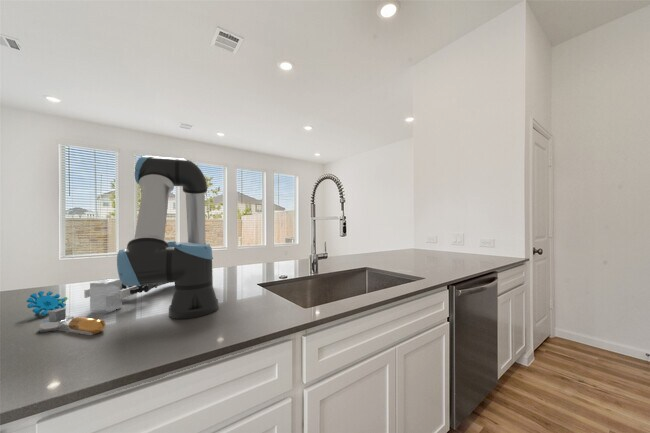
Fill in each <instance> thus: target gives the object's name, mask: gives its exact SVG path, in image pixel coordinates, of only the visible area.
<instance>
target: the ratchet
mask: <svg viewBox="0 0 650 433" xmlns="http://www.w3.org/2000/svg"><path fill="white" fill-rule="evenodd" d="M106 325H107V323H106V321H105V320H103V319H99V318H92V317H91V318H90V317H83V316H77V317H75V316H74V315H66V308H63V309H55V310H52V311H51V310H48V319H45V320H43V321H41V322H39V332H40V333H50V332H57V331H61V332H68V333H74V334H79V333H80V334H81V335H86V336H87V335H88V336H93V335H95V334H100V333H101V332H103V331H104V330H105V329H106ZM80 334H79V335H80Z"/></svg>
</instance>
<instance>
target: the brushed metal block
mask: <svg viewBox="0 0 650 433" xmlns="http://www.w3.org/2000/svg"><path fill="white" fill-rule="evenodd" d="M89 289H90V297H89V310H90V311H89V312H90V314H109V313H111V312H113V311H116V309H117V310H120V309H122V308H123V298H122V299H120V290H123V289H122V282H121V281H120V278H112V279H111V278H105V279H102V280H101V279H100V280H98V281H94V282H90V283H89Z"/></svg>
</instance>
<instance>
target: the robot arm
mask: <svg viewBox="0 0 650 433" xmlns="http://www.w3.org/2000/svg"><path fill="white" fill-rule="evenodd" d="M134 169H135V171H134V179H135V182H136V184H137V185H138V186H139V187H140V188H141V189H142V190H141V197H140V202H139V209H138V214H137V221H136V226H135V231H134V232H135V233H134V238H132V239H130V240H129V241H128V243H127V245H126V248H123V249H120V250H118V252H117V254H116V255H117V256H116V268H117V274H118V279H120V281H121V282H122V290H120V299H122V300H123V299H125V298H128V297H130V296H133V295H136V294H138V293H149V291H151V290H152V289H157V288H158V287H160V286H162V285H166V284H169V283H171V284H172V283H174V292H173V296H172V298H171V301H170V302H171V303H170V305H169V307H168V317H170V318H172V319H178V320H179V319H183V320H184V319H194V318H199V317H203V316H207V315H209V314H212V313H213V312H215V311H217V310H218V309H219V299H218V298H217V295H216V292H215V288H214V285H213V282H214V281H213V276H214V275H213V260H214V257H213V249H212V247H211V246H210V243H208V242H207V243H206V202H205V201H206V198H205V197H206V195H205V194H206V193H207V192H208V184H207V179H206V177H205V175H204V173H203V171H202V170H201V169H200V168H199V166H198V165H197V164H196V163H195V162H193V161H191V160H189V159H187V158H181V157H180V158H178V157H165V156H154V155H143V156H140V157H139V158H138V159H137V161H136V163H135V166H134ZM175 187H182V192H183V193H185V206H186V207H185V208H186V229H187V242H177V241H175V240H165V238H166V237H165V234H166V228H167V226H166V225H167V217H168V216H167V215H168V205H169V194H171V193H172V192H173V190H174V189H175ZM83 291H84V292H83V293H84V298H85V299H87V298H90V288H87V289H84V290H83Z"/></svg>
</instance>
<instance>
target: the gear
mask: <svg viewBox="0 0 650 433" xmlns="http://www.w3.org/2000/svg"><path fill="white" fill-rule="evenodd" d="M53 293H54V292H52V291H50V290H49V291H47V292H46V295H44V294H45V291H42V290H40V291H38V292H37V293H36V292H34V293H32V294H30V295H29V297H28V298H27V300H25V301H26V303H28V304H27V306H26V307H27V308H28V309H31V308H33V309H32V312H33V313H34V314H35V315H41V316H46V315H47V314H49V311H52V310H55V309H65V307H66V306H67V304H66V303H65V302H66V301H67V300H68V299H69V298H68V297H67V296H66V297H61V295H60V294H59V293H56V294H55V295H53ZM60 297H61V298H60Z"/></svg>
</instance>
